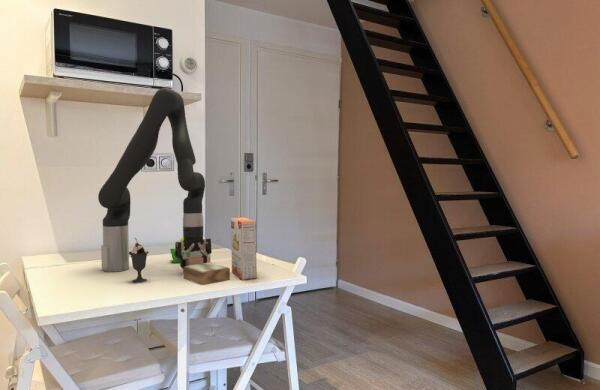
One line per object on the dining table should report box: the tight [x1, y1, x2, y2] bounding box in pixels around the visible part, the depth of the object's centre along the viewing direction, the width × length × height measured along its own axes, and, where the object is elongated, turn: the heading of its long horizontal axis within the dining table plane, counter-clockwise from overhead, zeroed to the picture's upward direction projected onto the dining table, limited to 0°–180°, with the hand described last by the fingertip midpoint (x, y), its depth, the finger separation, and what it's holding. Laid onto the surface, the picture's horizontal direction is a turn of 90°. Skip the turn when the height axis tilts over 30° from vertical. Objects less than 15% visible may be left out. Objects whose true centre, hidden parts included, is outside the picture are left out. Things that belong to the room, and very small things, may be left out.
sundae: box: [129, 237, 150, 284], centre depth 154 cm, size 7×7×15 cm
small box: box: [190, 237, 211, 263], centre depth 182 cm, size 8×6×10 cm
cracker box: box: [230, 216, 258, 281], centre depth 162 cm, size 14×6×21 cm, turn 23°
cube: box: [182, 256, 203, 273], centre depth 168 cm, size 6×6×6 cm
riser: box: [183, 261, 231, 286], centre depth 158 cm, size 11×13×4 cm
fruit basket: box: [169, 237, 190, 264], centre depth 188 cm, size 11×9×11 cm
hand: (194, 267), depth 169 cm, fingers open, 8 cm apart
